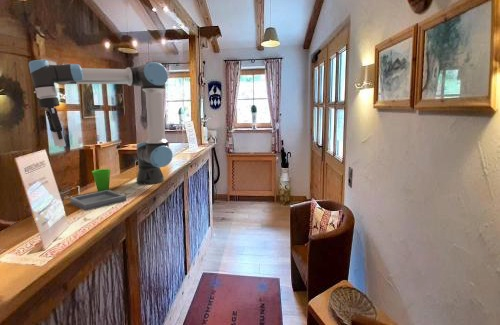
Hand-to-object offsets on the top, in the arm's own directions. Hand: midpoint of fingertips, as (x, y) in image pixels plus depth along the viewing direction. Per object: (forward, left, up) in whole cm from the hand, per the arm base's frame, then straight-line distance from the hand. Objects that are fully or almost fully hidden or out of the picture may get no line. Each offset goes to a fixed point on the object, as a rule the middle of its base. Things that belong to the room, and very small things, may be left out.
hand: (60, 146), depth 143 cm
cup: (-20, -8, -26) cm, 34 cm away
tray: (-10, +10, -26) cm, 30 cm away
